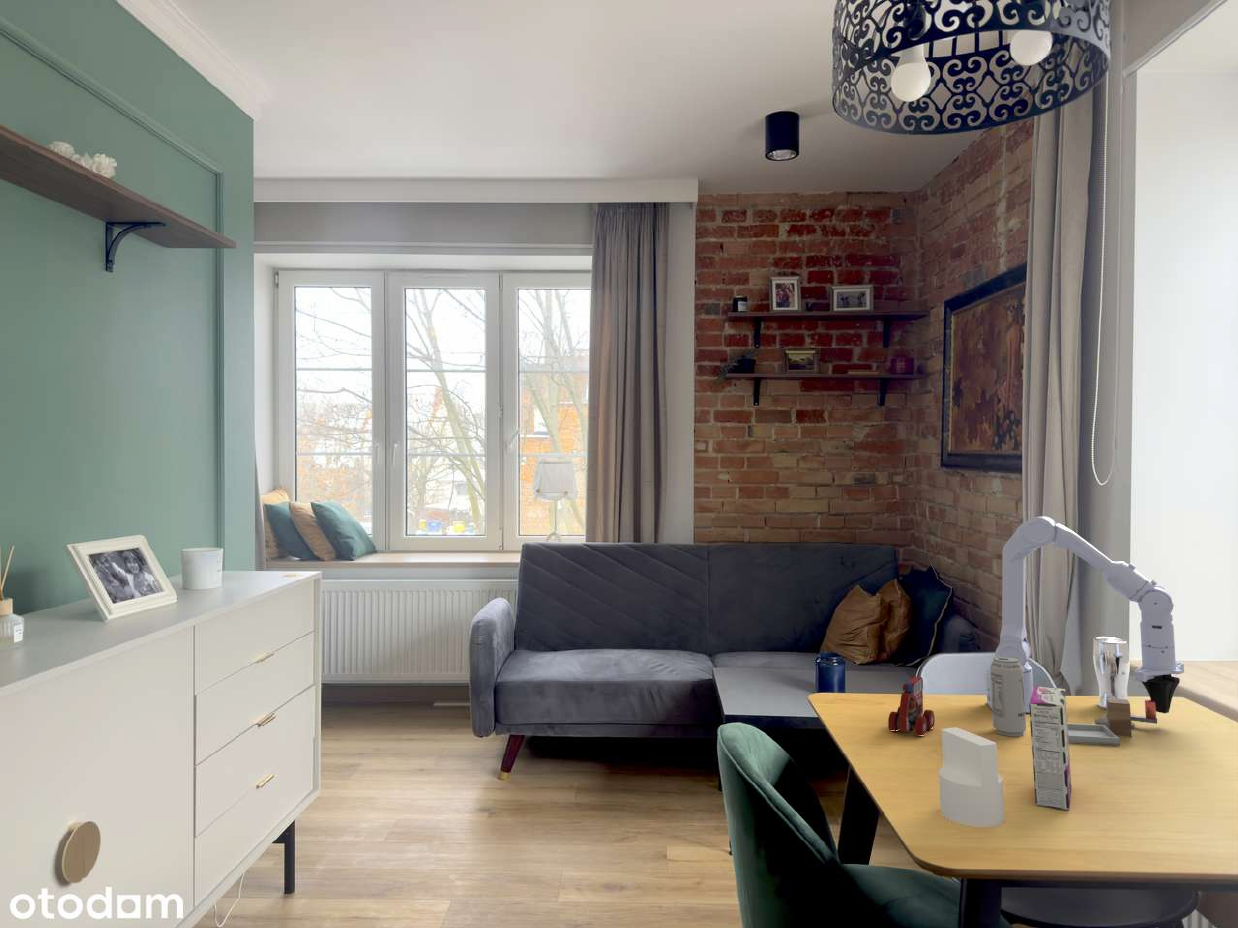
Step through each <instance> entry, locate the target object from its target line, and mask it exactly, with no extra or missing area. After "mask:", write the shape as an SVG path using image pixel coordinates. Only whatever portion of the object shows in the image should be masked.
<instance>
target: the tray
mask: <svg viewBox="0 0 1238 928" xmlns="http://www.w3.org/2000/svg"><path fill="white" fill-rule="evenodd" d="M1067 728H1068V743H1069V744H1085V745H1104V746H1120V745H1121V743H1120V738H1119V737H1120V736H1116V735H1115V734H1114V733H1113V732H1112V731H1111V730H1110V729H1108V727H1106V726H1105V725H1098V724H1093V723H1092V724H1089V723H1069V722H1067Z"/></svg>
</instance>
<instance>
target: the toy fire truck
mask: <svg viewBox="0 0 1238 928" xmlns="http://www.w3.org/2000/svg"><path fill="white" fill-rule="evenodd" d="M923 689H924V680H923V677H922V676H916V675H915V676H914V677H913V678H911V679H910V680H908V682H906V683H904V684H903V685H902V690H903V692H902V693H901V695H900V700H899V701H900V702H899V706H898V708H897V711H890V712H889V715H888V720H887V721H888V722H887V725H888V730H889V731H890V730H895V731H896V730H898V729H900V730H899V731H901V732H904V733H907V732H908V733H909V732H912V731H913V729H914V733H915V735H916V734H917V735H924V734H925V733H926V734H927V731H928V730H927V729H931V728H932V727H933V726H935V719H936V717H935V712H934V711H933V710H931V709H925V710H924V704H923V703H924V701H923V700H924V699H923V698H924V697H923V694H924V693H923V691H924V690H923ZM933 728H934V727H933ZM926 734H925V735H926ZM917 735H916V736H917Z"/></svg>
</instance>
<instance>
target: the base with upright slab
mask: <svg viewBox="0 0 1238 928" xmlns="http://www.w3.org/2000/svg"><path fill="white" fill-rule="evenodd" d="M941 743H942V744H941V745H942V762H943V763H942V765H943V767H941V768H940V769H939V771H938V777H939V778H938V779H939V782H938V783H939V799H940V800H939V801H940V803H939V804H940V813H941V812H942V813H941V815H942V814H943V815H944V816H945V817H944V816H943V815H942V816H943V817H944V818H946V819H947V820H949V821H951V822H953V823H955V824H959V825H962V826H963V825H964V826H969V827H973V826H976V828H992V827H997V826H1000V825H1002V824H1003V823H1004V822H1005V820H1006V819H1005V800H1004V781H1003V776H1001V774H999V767H998V766H999V764H998V761H999V760H998V743H997V742H995V741H993V740H989V739H988V738H985V737H982V736H980V735H977V734H975V733H973V732H969V731H967V730H964V729H962V728H960V727H947V728H941Z"/></svg>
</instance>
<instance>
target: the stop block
mask: <svg viewBox="0 0 1238 928" xmlns="http://www.w3.org/2000/svg"><path fill="white" fill-rule="evenodd" d="M1106 701H1107V709H1106V711H1107V719H1108V727H1107V728H1108V729H1110V730H1111V731H1112V732H1113V733H1114V734H1115V735H1116V736H1117V737H1129V738H1132V729H1131V722H1132V721H1131V715H1132V714H1131V703H1130V701H1129V699H1128V700H1127V699H1115V698H1106ZM1128 701H1129V702H1128Z"/></svg>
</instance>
